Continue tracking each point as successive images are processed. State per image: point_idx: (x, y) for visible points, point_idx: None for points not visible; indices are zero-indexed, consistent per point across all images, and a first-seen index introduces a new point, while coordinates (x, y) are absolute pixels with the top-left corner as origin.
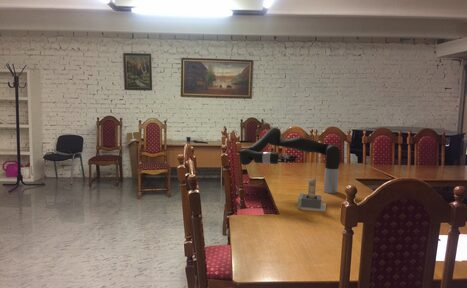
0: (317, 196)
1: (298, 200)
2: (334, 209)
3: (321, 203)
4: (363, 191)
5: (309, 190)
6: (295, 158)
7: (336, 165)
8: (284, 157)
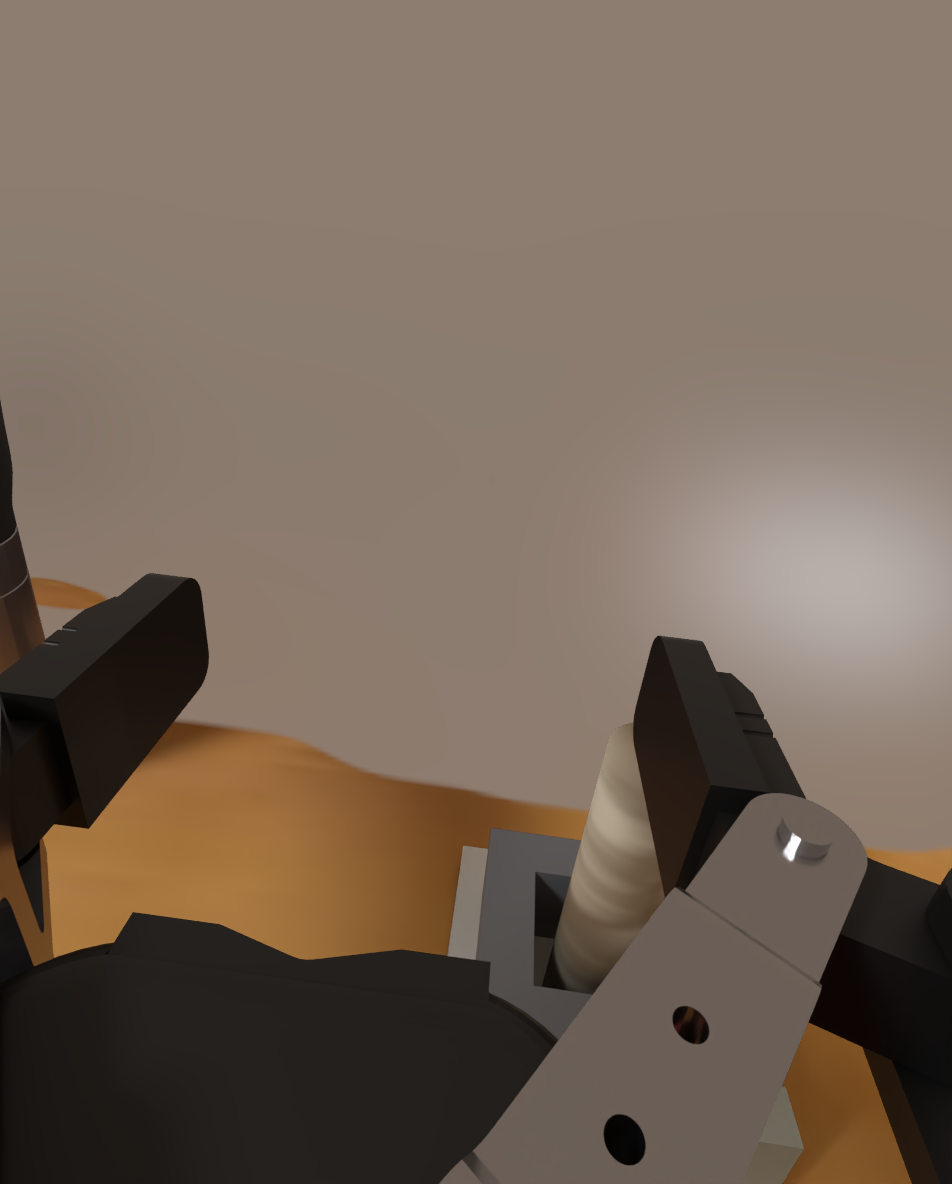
0: (542, 868)
1: (793, 1149)
2: (569, 815)
3: (482, 886)
4: (74, 604)
5: (659, 901)
6: (183, 665)
7: (10, 485)
8: (776, 1073)
